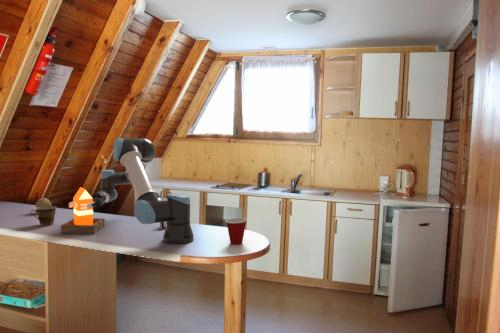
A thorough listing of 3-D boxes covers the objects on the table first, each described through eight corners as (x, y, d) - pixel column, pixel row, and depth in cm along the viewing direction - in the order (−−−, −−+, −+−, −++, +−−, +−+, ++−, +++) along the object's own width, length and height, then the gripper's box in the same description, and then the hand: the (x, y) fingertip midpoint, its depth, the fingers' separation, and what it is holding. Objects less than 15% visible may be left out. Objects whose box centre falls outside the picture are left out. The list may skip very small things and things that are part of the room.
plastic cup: (229, 239, 208) (230, 216, 207) (249, 241, 205) (250, 218, 204) (221, 244, 198) (221, 220, 197) (242, 247, 195) (242, 222, 193)
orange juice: (78, 227, 216) (77, 189, 214) (73, 223, 223) (72, 187, 220) (93, 224, 221) (92, 188, 219) (88, 221, 228) (87, 186, 225)
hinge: (168, 229, 225) (162, 212, 226) (161, 231, 227) (156, 214, 228) (184, 223, 241) (179, 207, 241) (178, 225, 243) (173, 208, 243)
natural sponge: (34, 212, 263) (33, 197, 262) (49, 210, 269) (48, 195, 268) (38, 215, 256) (37, 199, 255) (53, 213, 262) (52, 197, 261)
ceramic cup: (54, 222, 239) (54, 205, 238) (58, 225, 231) (57, 208, 230) (29, 224, 231) (29, 207, 230) (32, 228, 223) (31, 210, 222)
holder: (94, 234, 214) (93, 225, 213) (61, 234, 213) (60, 225, 213) (104, 226, 231) (104, 218, 230) (74, 226, 230) (73, 218, 230)
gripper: (118, 205, 237) (98, 213, 215) (82, 203, 240) (59, 211, 218) (117, 192, 236) (98, 199, 214) (81, 191, 239) (58, 198, 217)
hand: (78, 205), depth 216 cm, fingers closed on orange juice, 10 cm apart
